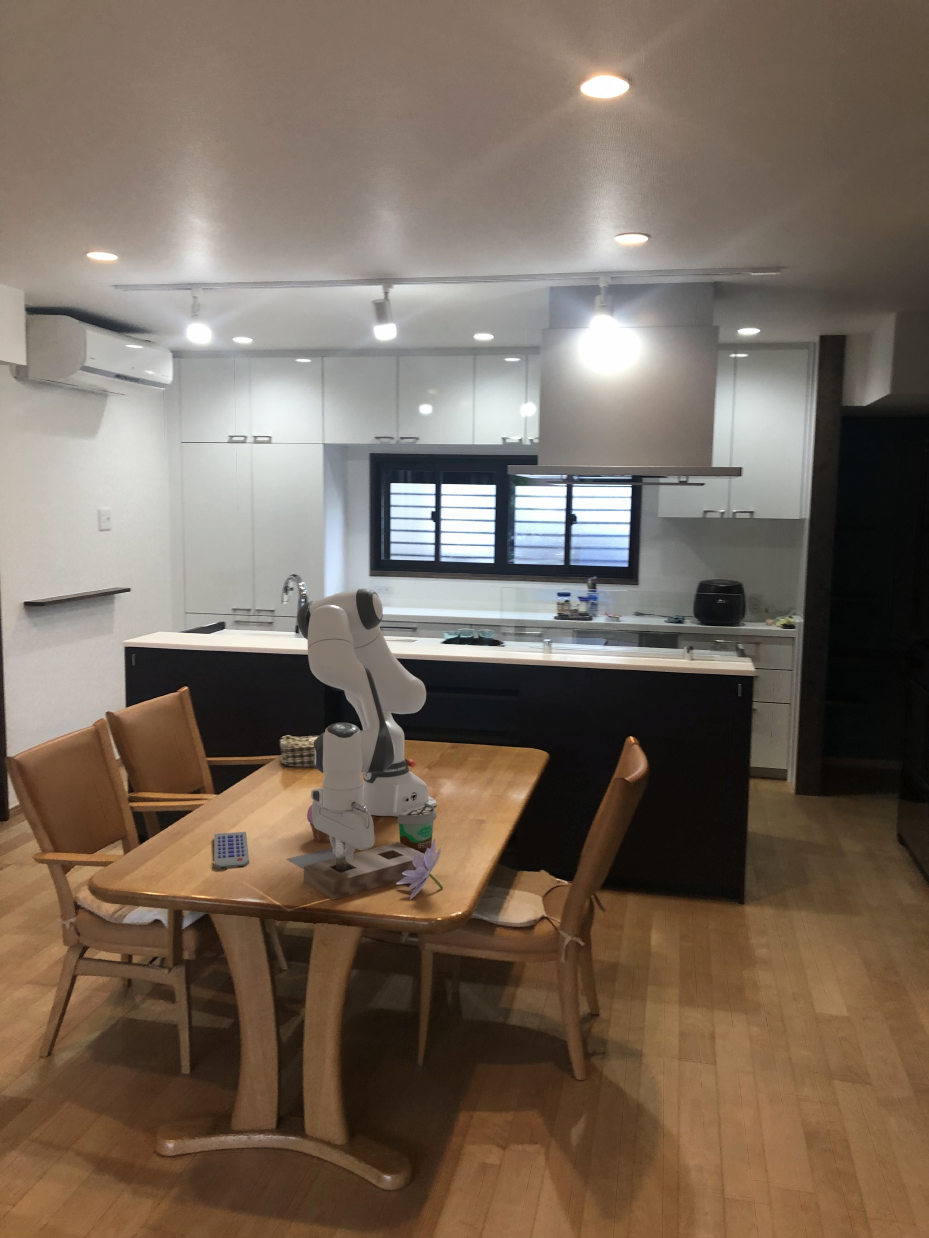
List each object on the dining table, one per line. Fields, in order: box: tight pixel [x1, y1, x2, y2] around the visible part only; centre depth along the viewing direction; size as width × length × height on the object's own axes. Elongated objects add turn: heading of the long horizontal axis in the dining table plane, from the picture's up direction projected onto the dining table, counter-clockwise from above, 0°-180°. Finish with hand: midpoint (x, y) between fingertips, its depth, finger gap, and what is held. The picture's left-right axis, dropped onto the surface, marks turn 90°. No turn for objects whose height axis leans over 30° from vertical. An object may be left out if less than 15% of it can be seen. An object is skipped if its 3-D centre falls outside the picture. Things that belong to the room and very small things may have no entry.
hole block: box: [303, 841, 425, 901], centre depth 217 cm, size 26×12×4 cm, turn 130°
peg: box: [336, 839, 349, 872], centre depth 212 cm, size 3×3×10 cm
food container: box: [396, 803, 438, 854], centre depth 236 cm, size 12×6×10 cm, turn 148°
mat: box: [286, 848, 336, 870], centre depth 227 cm, size 12×12×1 cm
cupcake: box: [306, 804, 330, 843], centre depth 242 cm, size 9×9×10 cm
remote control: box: [213, 831, 250, 871], centre depth 232 cm, size 8×23×2 cm, turn 14°
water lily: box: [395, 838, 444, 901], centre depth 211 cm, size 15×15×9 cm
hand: (342, 857), depth 213 cm, fingers closed on peg, 3 cm apart
